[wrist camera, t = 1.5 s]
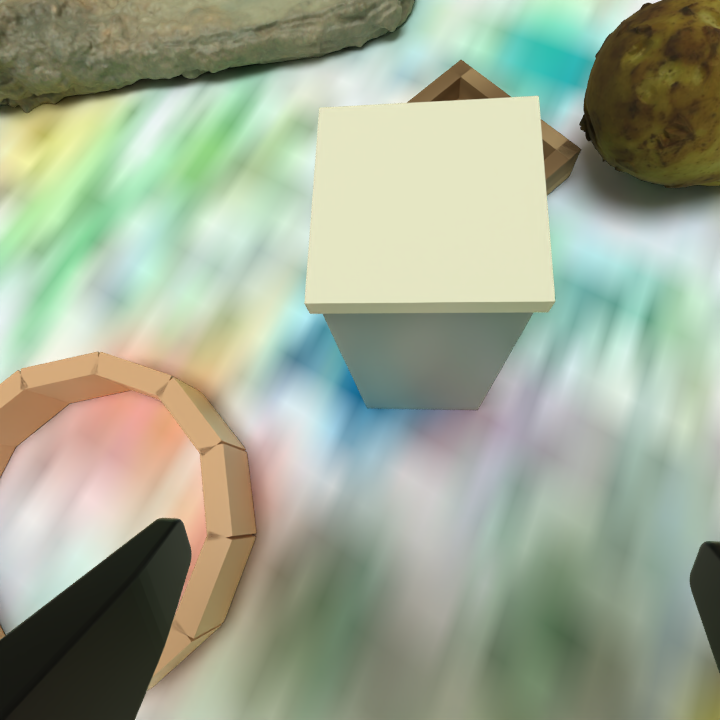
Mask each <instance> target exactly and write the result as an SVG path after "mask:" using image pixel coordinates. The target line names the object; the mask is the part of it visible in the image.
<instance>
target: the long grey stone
mask: <svg viewBox="0 0 720 720" xmlns="http://www.w3.org/2000/svg"><path fill="white" fill-rule="evenodd" d="M414 1H415V0H0V105H2V104H3V105H6V104H9V105H10V106H11V107H16V106H18V105H19V106H21V108H22V109H23V111H24V112H25V113H28V112H30V111H31V110H32V109H34V108H35V107H37V106H39V105H41V104H43V103H52V104H56V103H57V102H58V101H60V100H61V99H62V98H64V97H65V96H73V95H78V94H81V95H82V94H90V93H97V92H102V91H108V90H111V89H113V88H115V89H120V88H122V87H124V86H126V85H131V84H133V83H134V82H136V81H138V80H139V79H142V78H144V79H145V78H150V79H161V78H168V79H171V78H172V77H175V76H179V75H180V74H182V75H183V76H184V77H186V78H189V79H193V78H197V77H198V76H199V75H201V74H203V73H205V72H207V71H210V72H211V73H215V72H218V71H220V70H224V69H227V68H229V67H237V66H243V65H252V64H257V63H260V64H266V63H270V62H271V63H275V62H280V61H281V62H284V61H288V60H296V59H301V58H306V57H308V58H312V57H322V56H323V55H325V54H327V53H331V52H334V51H339V50H341V49H342V48H346V47H348V46H357V47H362V45H363V44H364V43H366V42H367V41H368V40H370V39H372V38H377V37H379V36H381V35H384V34H386V33H387V32H389V31H390V32H394V31H395V29H396V28H397V27H399V26H401V25H402V24H403V22H404V21H406V19H407V17H408V15H409V14H410V13H411V10H412V7H413V4H414Z"/></svg>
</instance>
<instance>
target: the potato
mask: <svg viewBox="0 0 720 720" xmlns="http://www.w3.org/2000/svg"><path fill="white" fill-rule="evenodd" d="M595 57H596V60H595V62H594V65H593V67H592V70H591V73H590V76H589V80H588V85H587V89H586V93H585V98H584V115H583V118H582V120H581V122H580V124H579V125H580V126H581V127H580V128H581V130H583V131H584V132H585V135H586V139H587V140H588V141H592V143H593V145H594V147H595V149H597V150H598V152H599V153H600V155H601V156H602V158H603V161H605V160H606V161H607V162H608V164H610V165H611V166H614V167H615V170H618V171H621V172H626V173H628V174H630V175H632V176H634V177H636V178H637V179H640V180H642V181H646V182H650V183H654V184H661V185H664V186H665V188H681V187H684V188H685V187H687V186H693V185H705V186H720V0H661V1H659V2H656V3H654V4H651V3H646V4H644V5H643V6H642V7H641V9H640V10H639V11H637V12H636V13H634V14H633V15H632V16H630V17H629V18H627V19H626V20H624V21H623V22H621V24H620V25H619V26H618V27H617V28H616V29H615V30H614V31H613V32H612V33H611V34H609V35H608V37H607V38H606V39H605V41H604V43H603V45H602V47H601V48H600V50H599V51H598V53H597V54H596V56H595Z"/></svg>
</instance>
